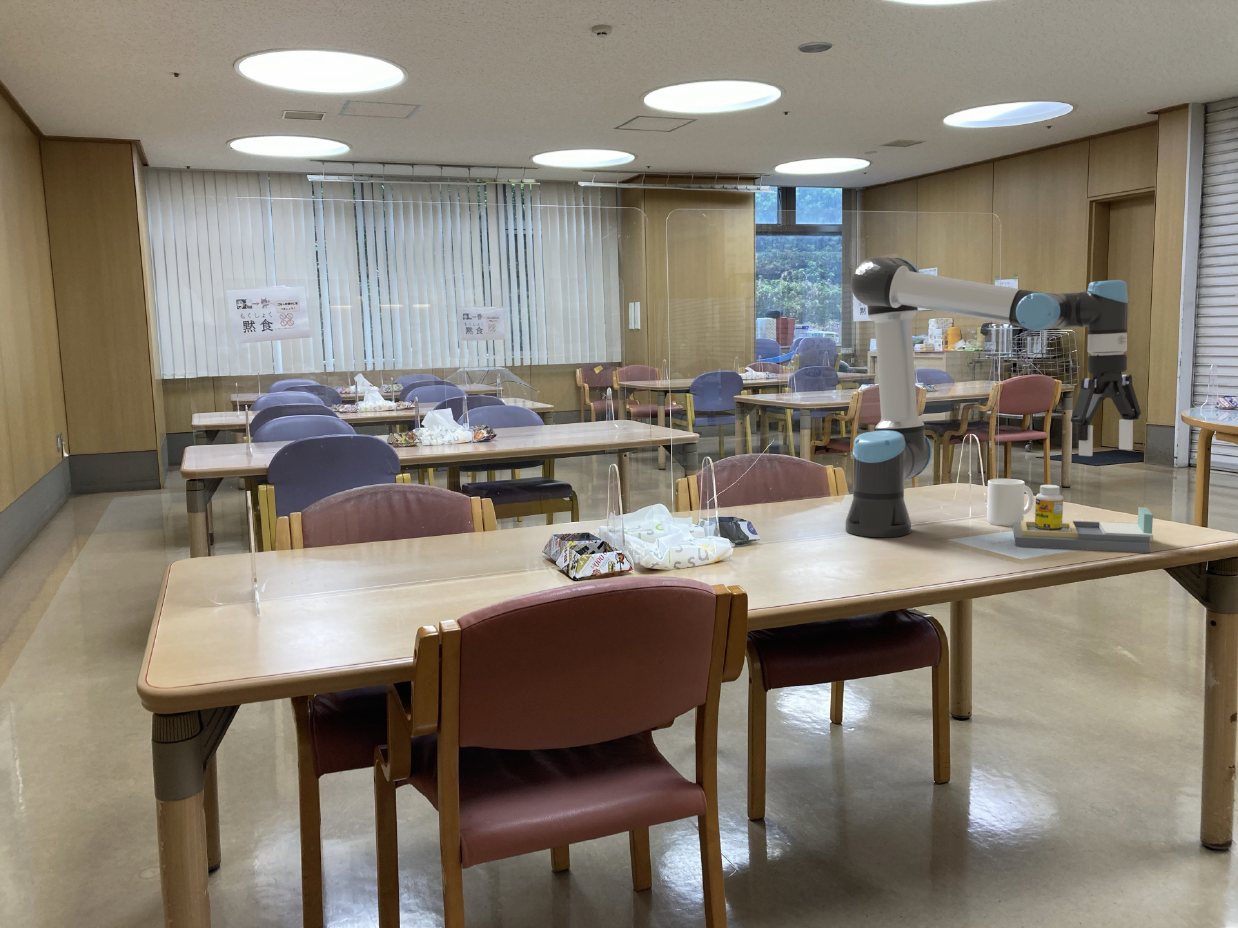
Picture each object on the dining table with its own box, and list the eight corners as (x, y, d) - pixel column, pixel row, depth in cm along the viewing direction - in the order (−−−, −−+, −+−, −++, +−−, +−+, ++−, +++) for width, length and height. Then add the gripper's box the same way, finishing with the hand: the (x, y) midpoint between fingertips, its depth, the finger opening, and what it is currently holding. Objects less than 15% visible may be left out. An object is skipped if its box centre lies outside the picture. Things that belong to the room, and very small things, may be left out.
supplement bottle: (1029, 529, 213) (1030, 485, 212) (1049, 527, 215) (1051, 483, 213) (1046, 534, 208) (1048, 489, 207) (1067, 532, 210) (1069, 487, 208)
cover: (1105, 538, 202) (1106, 514, 202) (1099, 527, 213) (1100, 504, 212) (1153, 540, 199) (1154, 516, 199) (1144, 529, 210) (1145, 506, 209)
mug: (1021, 517, 236) (1022, 476, 235) (1044, 523, 228) (1045, 481, 227) (979, 521, 233) (980, 480, 232) (1001, 527, 226) (1002, 485, 224)
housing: (1015, 546, 207) (1015, 531, 206) (1012, 530, 222) (1013, 517, 221) (1150, 552, 198) (1150, 537, 197) (1138, 536, 213) (1138, 522, 212)
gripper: (1085, 356, 193) (1084, 459, 196) (1160, 350, 205) (1158, 448, 207) (1053, 357, 200) (1052, 456, 202) (1127, 351, 211) (1125, 445, 214)
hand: (1105, 452), depth 205 cm, fingers open, 13 cm apart
